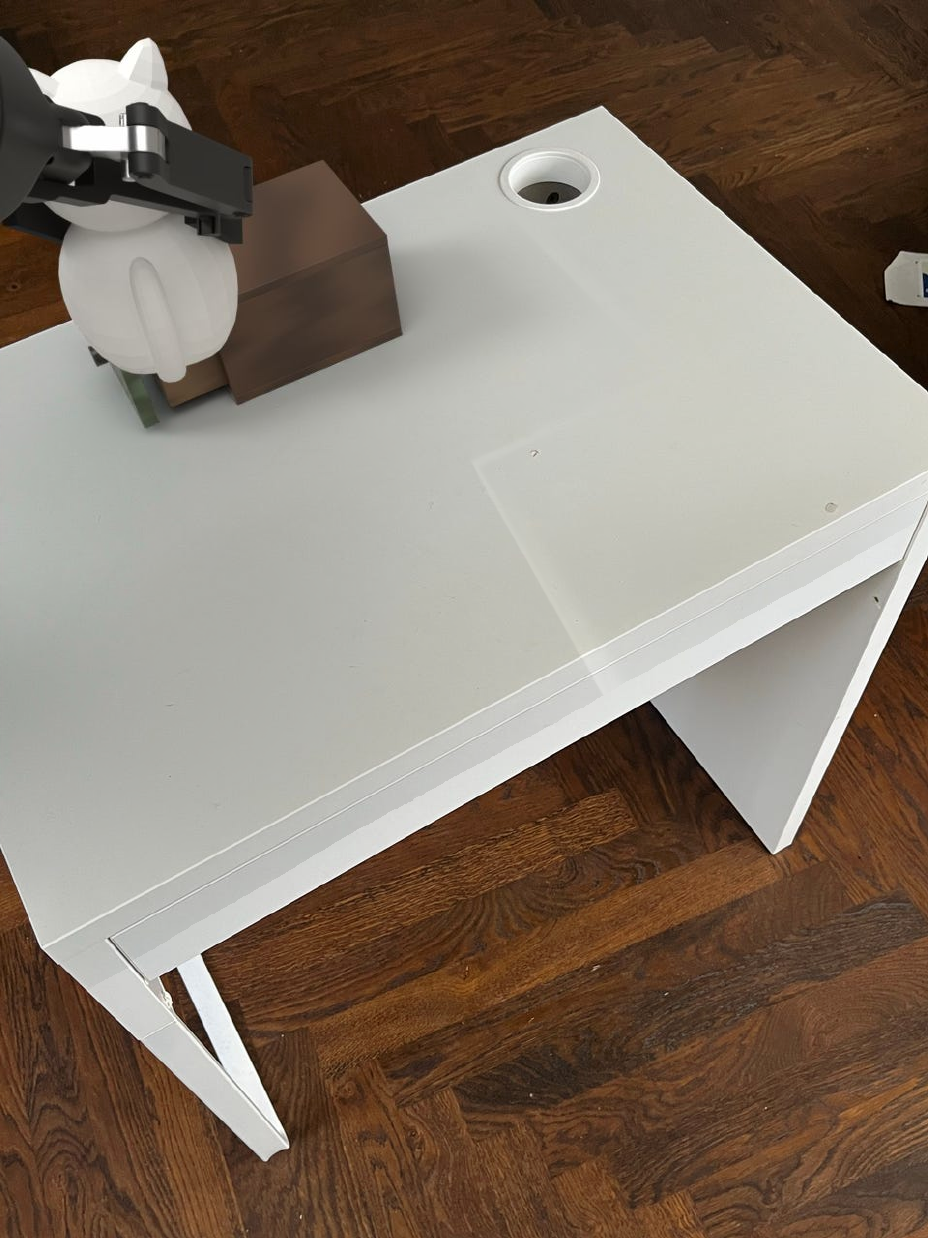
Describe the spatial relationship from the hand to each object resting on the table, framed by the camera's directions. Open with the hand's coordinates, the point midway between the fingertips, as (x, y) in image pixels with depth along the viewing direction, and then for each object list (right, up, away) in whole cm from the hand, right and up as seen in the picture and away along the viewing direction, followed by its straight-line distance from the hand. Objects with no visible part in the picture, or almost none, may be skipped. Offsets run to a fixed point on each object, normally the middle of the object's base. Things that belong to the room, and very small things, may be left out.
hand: (151, 217), depth 60 cm
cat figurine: (0, -6, +3) cm, 7 cm away
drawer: (-5, 0, +32) cm, 32 cm away
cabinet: (+2, +3, +35) cm, 35 cm away
